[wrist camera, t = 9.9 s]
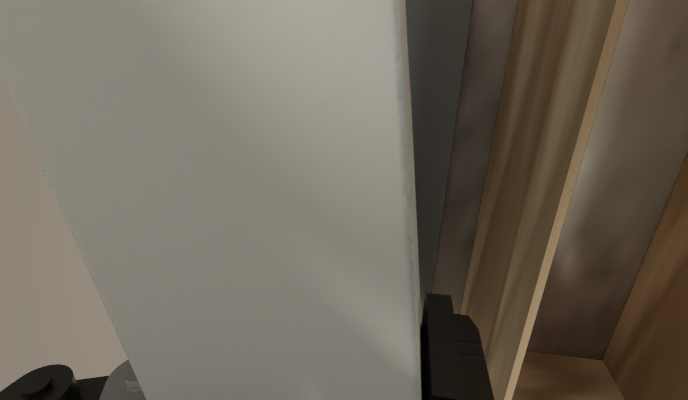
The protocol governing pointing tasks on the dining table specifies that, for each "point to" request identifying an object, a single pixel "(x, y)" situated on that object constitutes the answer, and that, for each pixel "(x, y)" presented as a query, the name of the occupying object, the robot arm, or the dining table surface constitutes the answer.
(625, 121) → the dining table surface
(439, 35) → the mat
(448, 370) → the robot arm
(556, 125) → the carton
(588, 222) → the dining table surface
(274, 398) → the skincare box
